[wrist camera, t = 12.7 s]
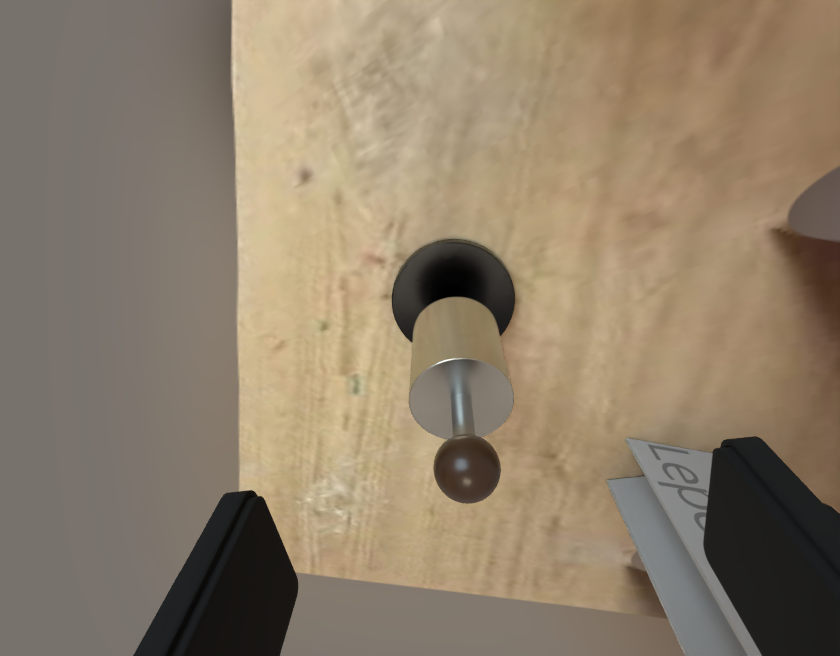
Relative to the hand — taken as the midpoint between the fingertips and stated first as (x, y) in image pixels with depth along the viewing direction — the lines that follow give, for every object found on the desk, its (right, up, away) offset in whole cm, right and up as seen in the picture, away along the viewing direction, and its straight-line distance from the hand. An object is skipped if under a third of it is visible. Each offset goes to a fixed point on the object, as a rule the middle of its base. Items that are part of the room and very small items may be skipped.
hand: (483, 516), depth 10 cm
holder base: (+1, +6, +30) cm, 31 cm away
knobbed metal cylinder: (+2, -2, +20) cm, 20 cm away
